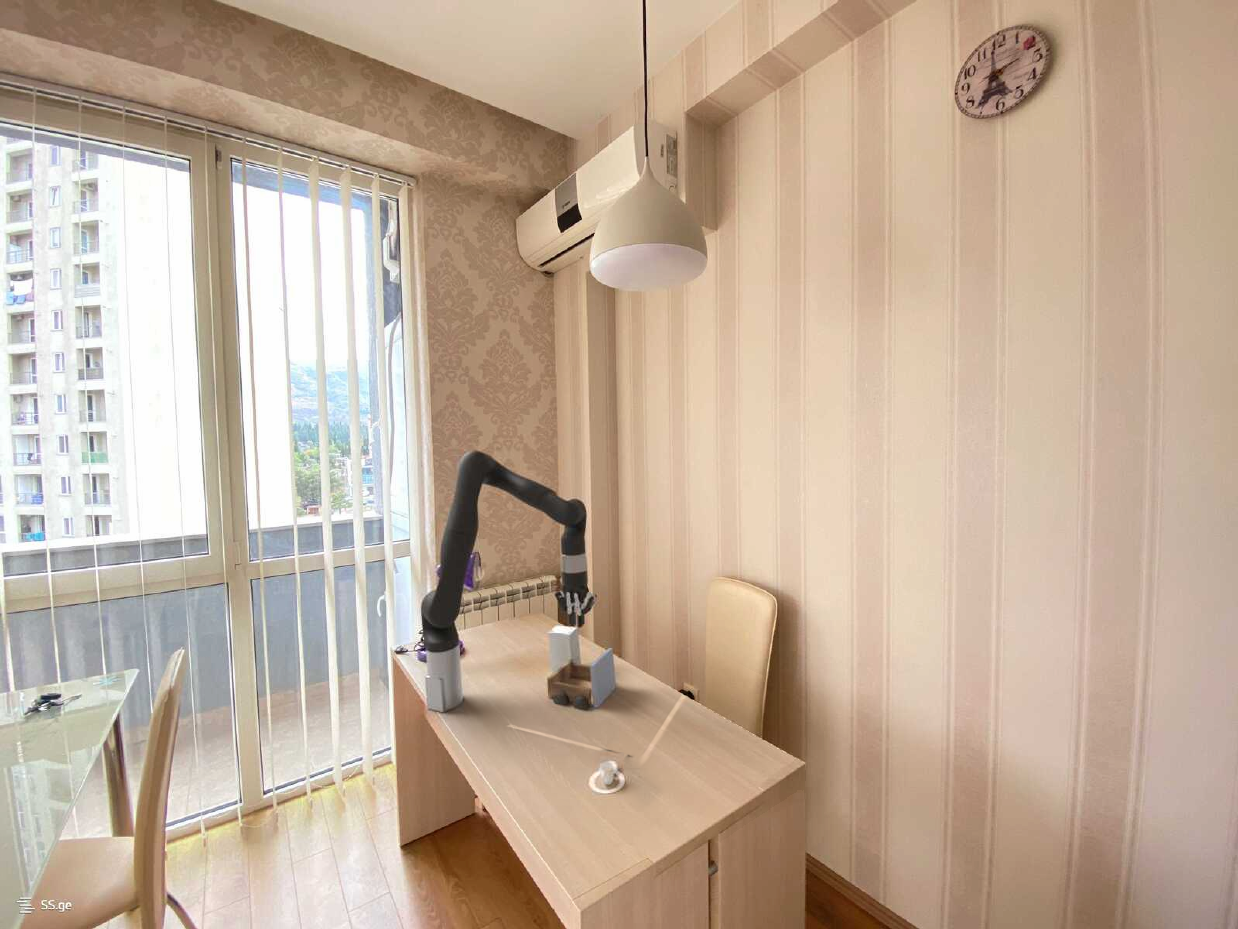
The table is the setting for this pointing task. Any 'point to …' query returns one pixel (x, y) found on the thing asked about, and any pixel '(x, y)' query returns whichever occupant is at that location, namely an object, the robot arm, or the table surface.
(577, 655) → the skincare box
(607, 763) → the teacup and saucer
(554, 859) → the table surface
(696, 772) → the table surface
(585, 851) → the table surface
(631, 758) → the table surface
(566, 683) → the wooden toy cart
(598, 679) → the tailgate
